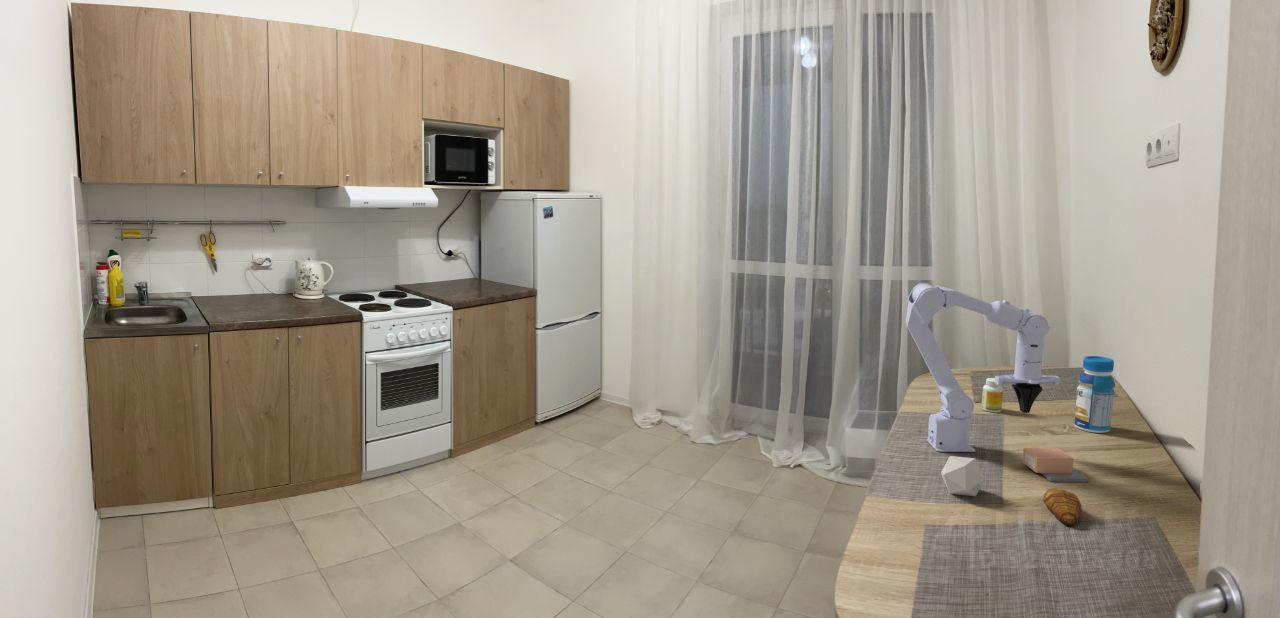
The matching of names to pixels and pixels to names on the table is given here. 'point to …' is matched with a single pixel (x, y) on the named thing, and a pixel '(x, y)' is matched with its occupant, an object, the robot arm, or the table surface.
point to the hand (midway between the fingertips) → (1024, 411)
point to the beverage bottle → (1095, 395)
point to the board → (1065, 477)
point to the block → (1048, 460)
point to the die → (962, 476)
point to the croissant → (1063, 505)
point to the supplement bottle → (992, 396)
